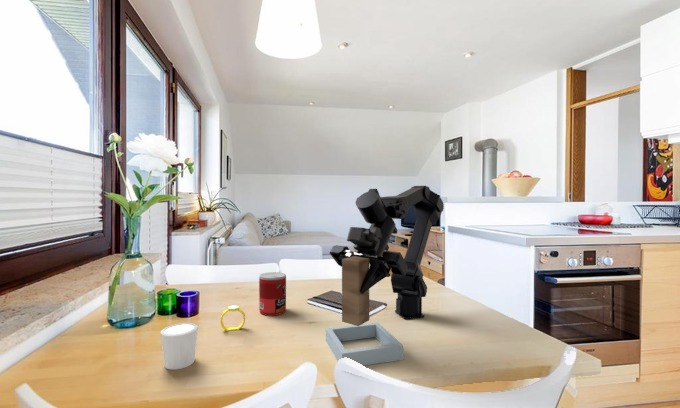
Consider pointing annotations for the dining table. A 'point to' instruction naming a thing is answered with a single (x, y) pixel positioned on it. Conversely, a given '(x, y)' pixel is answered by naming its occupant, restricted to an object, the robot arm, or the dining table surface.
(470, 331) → the dining table surface
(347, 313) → the tall wooden post
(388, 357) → the frame
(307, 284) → the dining table surface
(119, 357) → the dining table surface
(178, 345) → the white cup
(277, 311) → the canned food
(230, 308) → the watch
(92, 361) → the dining table surface
